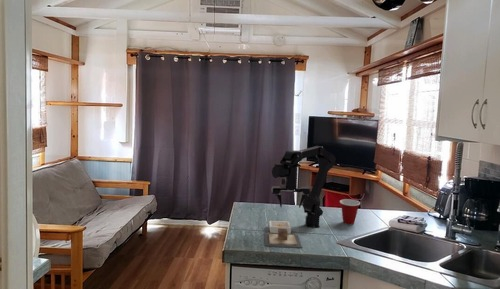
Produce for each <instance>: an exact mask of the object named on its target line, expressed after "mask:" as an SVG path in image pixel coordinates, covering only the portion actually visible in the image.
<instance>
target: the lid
mask: <svg viewBox="0 0 500 289" xmlns="http://www.w3.org/2000/svg"><path fill="white" fill-rule="evenodd" d="M268 234H269V242H270V244H283V245H297V242H296V239H295V236H294V235H295V234H288V231H287V229H280V228H278V233H268Z"/></svg>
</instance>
